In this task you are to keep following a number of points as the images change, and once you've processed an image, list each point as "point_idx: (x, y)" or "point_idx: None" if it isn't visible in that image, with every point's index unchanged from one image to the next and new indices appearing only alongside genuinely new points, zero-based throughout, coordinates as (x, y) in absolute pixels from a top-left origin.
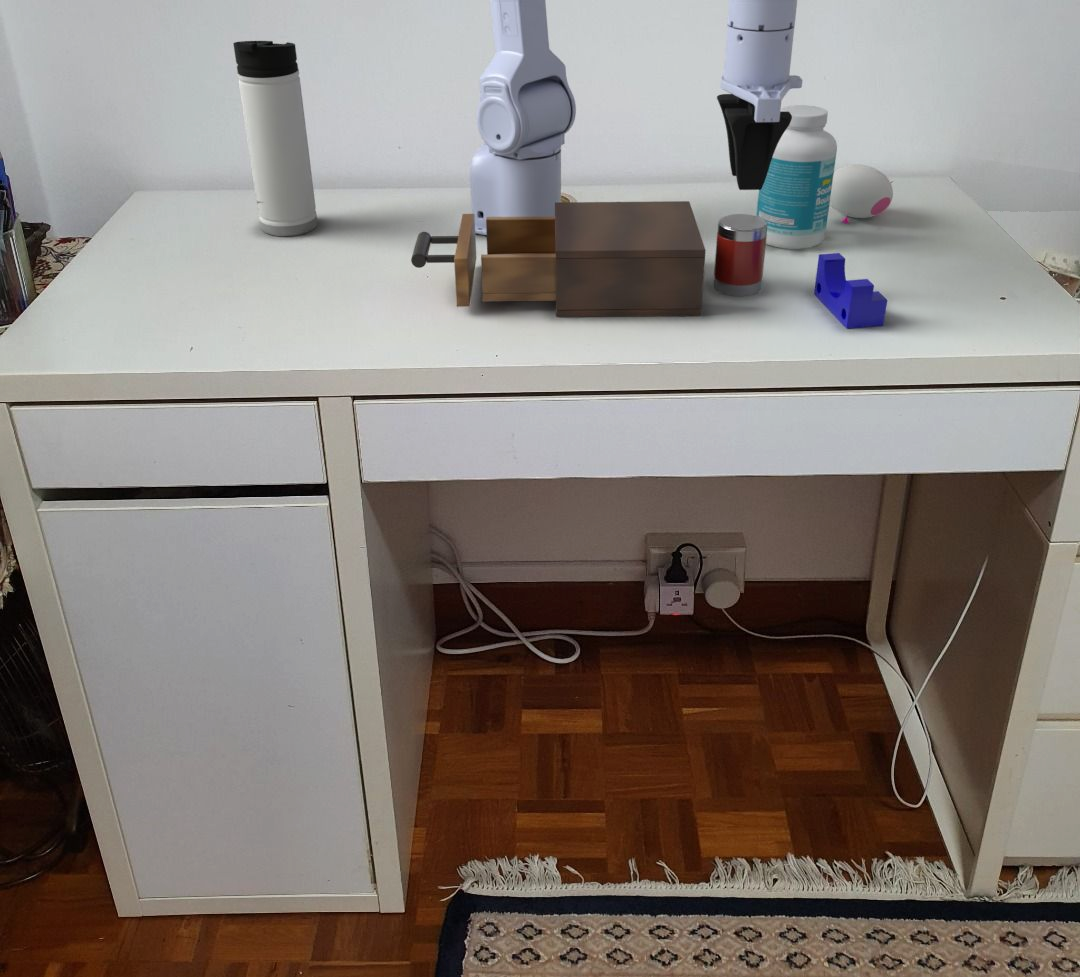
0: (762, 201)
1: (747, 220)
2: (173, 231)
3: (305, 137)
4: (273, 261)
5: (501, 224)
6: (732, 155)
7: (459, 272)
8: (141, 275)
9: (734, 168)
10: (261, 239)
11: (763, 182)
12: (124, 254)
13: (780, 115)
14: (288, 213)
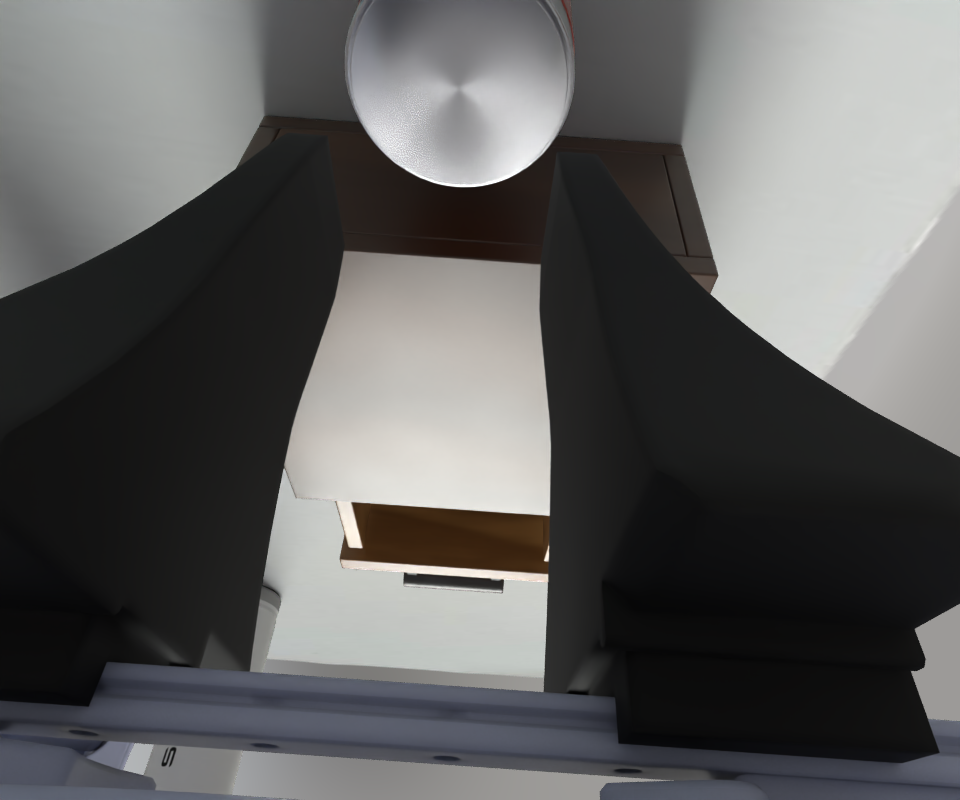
0: None
1: (446, 64)
2: (285, 640)
3: None
4: (362, 600)
5: (361, 526)
6: (316, 331)
7: None
8: (410, 648)
9: (333, 268)
10: (293, 605)
11: (610, 173)
12: (356, 654)
13: (844, 587)
14: (269, 622)
